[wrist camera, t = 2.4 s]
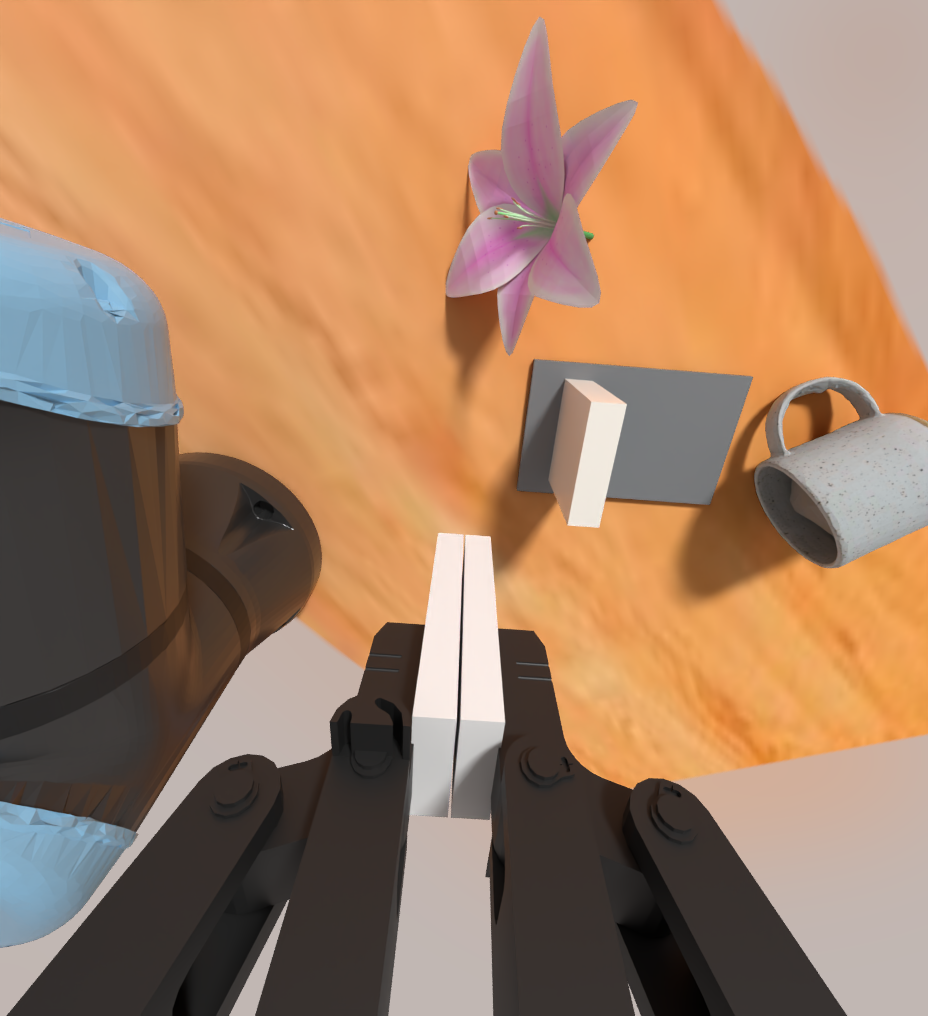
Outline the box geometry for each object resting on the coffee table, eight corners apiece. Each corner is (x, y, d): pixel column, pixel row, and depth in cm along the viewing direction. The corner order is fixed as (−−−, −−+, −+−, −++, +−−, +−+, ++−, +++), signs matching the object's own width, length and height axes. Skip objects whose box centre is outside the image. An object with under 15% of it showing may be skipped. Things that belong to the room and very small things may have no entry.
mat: (516, 488, 33) (517, 490, 32) (533, 359, 29) (534, 359, 28) (707, 502, 33) (709, 504, 32) (749, 376, 29) (752, 377, 29)
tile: (548, 479, 32) (567, 525, 25) (565, 378, 29) (591, 401, 23) (573, 481, 32) (599, 527, 26) (592, 380, 29) (626, 404, 23)
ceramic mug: (885, 483, 32) (1000, 532, 25) (769, 534, 34) (846, 593, 27) (854, 348, 28) (978, 361, 21) (725, 413, 30) (801, 445, 23)
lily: (553, 44, 23) (457, -59, 16) (737, 176, 22) (723, 129, 14) (451, 267, 31) (354, 266, 24) (581, 375, 29) (521, 411, 22)
